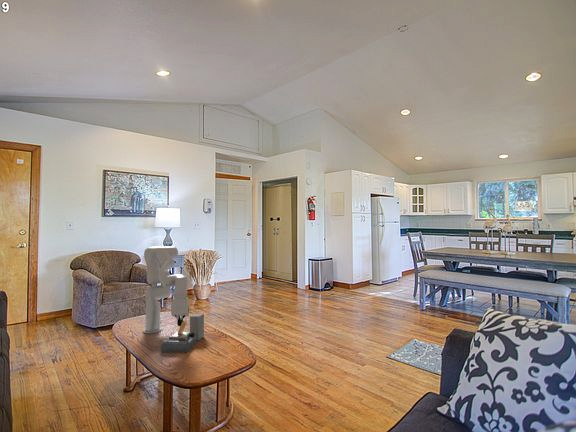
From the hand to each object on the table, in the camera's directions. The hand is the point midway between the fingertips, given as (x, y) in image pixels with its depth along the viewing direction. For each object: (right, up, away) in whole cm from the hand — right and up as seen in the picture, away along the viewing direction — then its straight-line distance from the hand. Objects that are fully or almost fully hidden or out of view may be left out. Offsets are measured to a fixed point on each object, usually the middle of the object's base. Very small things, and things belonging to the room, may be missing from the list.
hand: (180, 325), depth 188 cm
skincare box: (+6, -14, +15) cm, 21 cm away
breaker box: (-1, -14, 0) cm, 13 cm away
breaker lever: (0, -6, 0) cm, 5 cm away
